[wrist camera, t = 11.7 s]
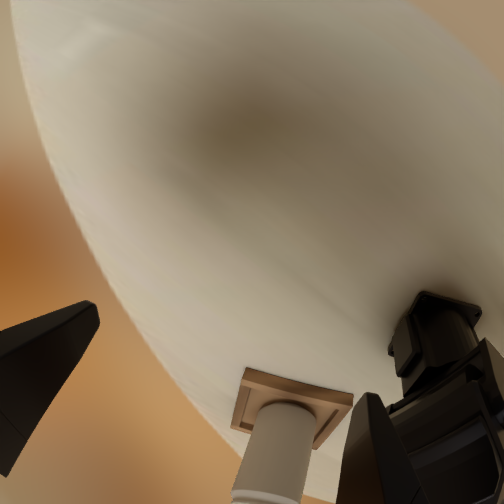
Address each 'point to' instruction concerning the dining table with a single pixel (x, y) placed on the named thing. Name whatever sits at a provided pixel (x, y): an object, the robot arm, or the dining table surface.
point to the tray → (283, 390)
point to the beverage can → (276, 456)
